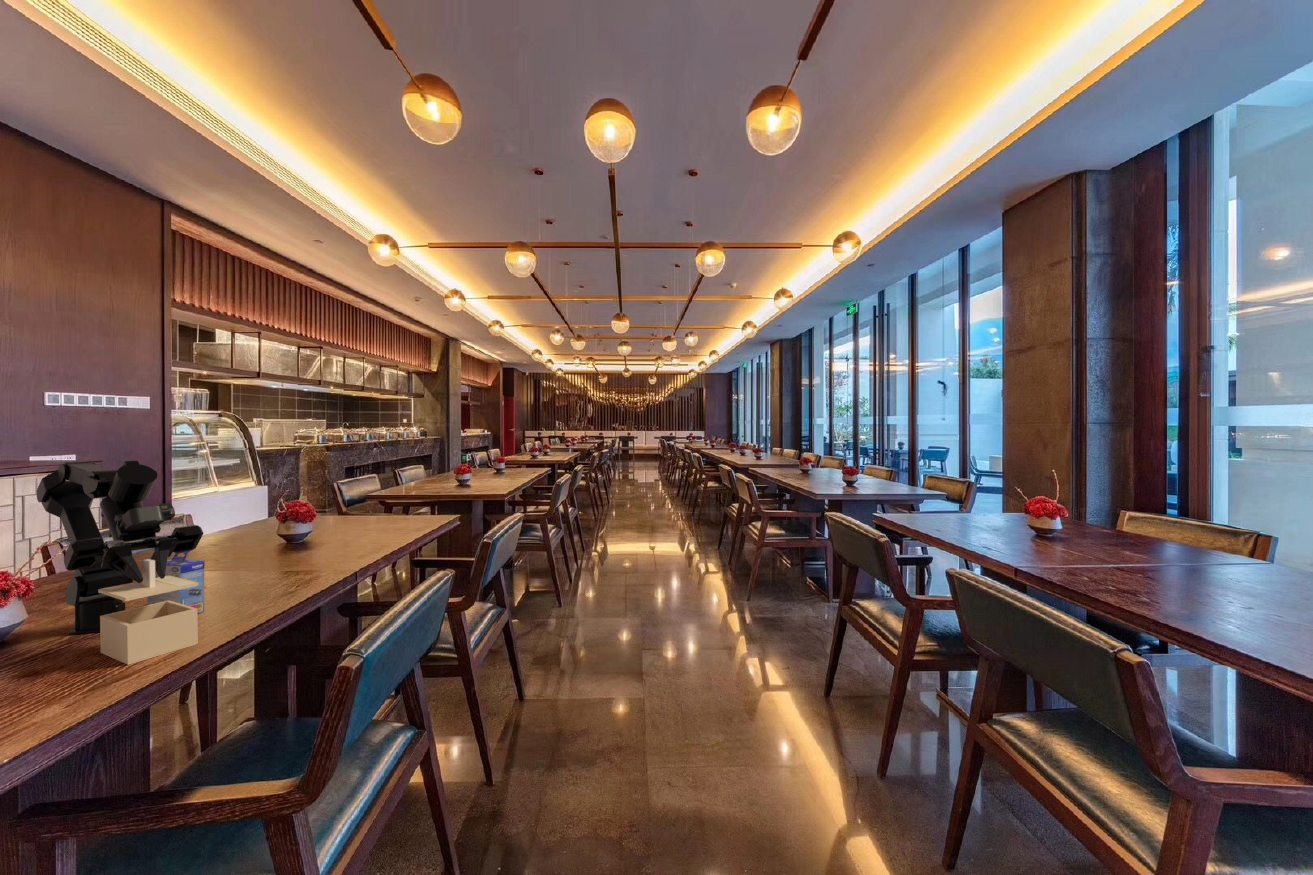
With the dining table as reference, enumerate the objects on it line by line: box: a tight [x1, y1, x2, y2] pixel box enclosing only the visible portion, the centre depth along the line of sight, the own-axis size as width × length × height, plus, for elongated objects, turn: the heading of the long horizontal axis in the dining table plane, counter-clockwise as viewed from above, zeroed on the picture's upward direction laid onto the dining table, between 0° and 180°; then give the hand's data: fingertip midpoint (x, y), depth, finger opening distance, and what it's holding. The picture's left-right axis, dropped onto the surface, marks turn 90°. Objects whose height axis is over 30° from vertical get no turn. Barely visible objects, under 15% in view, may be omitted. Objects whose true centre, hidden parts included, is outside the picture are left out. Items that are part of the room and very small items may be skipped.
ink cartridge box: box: [147, 551, 206, 615], centre depth 117 cm, size 10×6×14 cm, turn 78°
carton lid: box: [98, 558, 198, 602], centre depth 98 cm, size 12×10×6 cm
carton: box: [99, 600, 199, 665], centre depth 98 cm, size 12×10×7 cm
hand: (152, 579), depth 97 cm, fingers open, 3 cm apart
